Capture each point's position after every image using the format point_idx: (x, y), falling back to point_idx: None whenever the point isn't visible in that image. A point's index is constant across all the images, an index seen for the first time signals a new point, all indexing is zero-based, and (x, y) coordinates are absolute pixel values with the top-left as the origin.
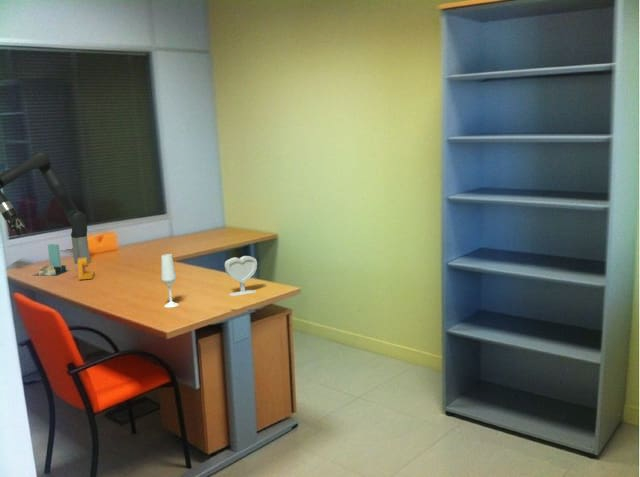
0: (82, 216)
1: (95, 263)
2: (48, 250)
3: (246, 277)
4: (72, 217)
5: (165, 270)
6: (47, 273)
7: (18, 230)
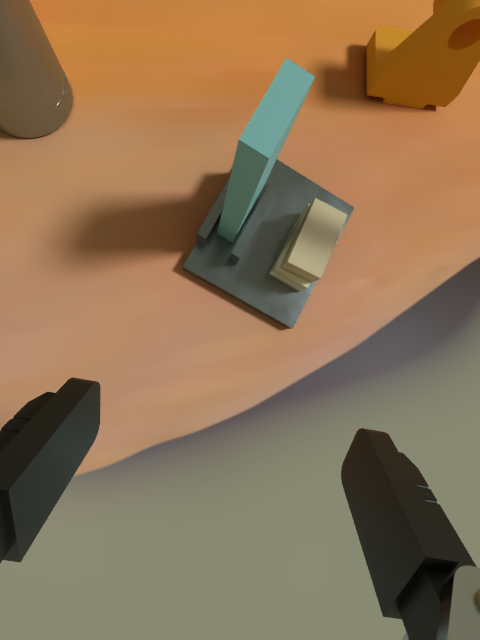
0: None
1: (70, 28)
2: (258, 184)
3: None
4: None
5: None
6: None
7: (421, 516)
